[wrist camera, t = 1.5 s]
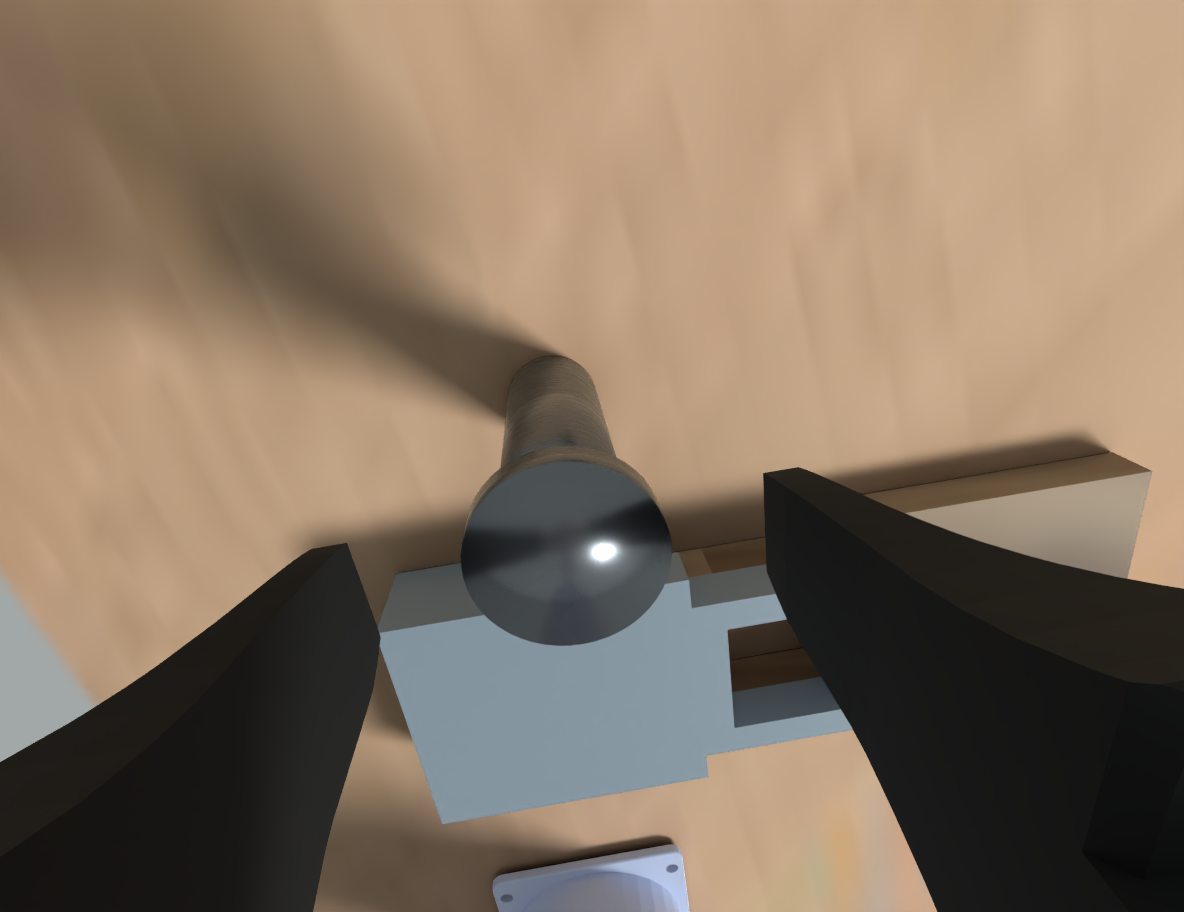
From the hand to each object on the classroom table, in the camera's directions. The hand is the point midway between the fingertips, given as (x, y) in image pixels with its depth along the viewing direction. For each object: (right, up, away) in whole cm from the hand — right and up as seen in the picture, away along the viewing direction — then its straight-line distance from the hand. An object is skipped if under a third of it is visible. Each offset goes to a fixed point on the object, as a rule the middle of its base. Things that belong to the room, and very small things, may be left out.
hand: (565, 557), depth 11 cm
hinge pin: (-1, +3, +8) cm, 9 cm away
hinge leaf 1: (+2, -4, +12) cm, 13 cm away
